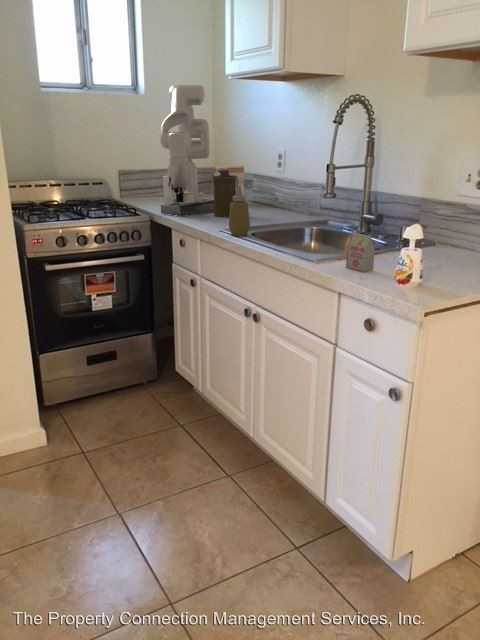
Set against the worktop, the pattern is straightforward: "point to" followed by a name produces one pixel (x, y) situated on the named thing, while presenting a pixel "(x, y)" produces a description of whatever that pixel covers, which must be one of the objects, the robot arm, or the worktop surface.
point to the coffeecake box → (233, 171)
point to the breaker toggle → (188, 197)
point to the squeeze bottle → (239, 215)
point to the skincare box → (168, 193)
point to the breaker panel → (188, 208)
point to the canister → (224, 193)
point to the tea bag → (360, 253)
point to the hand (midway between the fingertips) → (179, 201)
